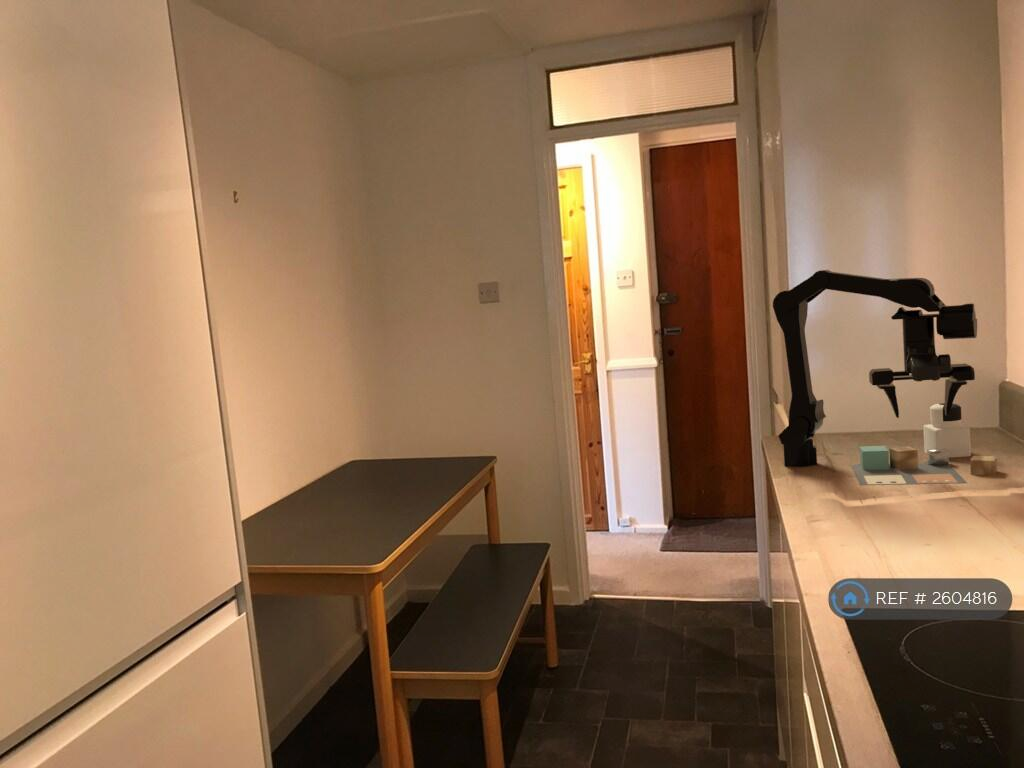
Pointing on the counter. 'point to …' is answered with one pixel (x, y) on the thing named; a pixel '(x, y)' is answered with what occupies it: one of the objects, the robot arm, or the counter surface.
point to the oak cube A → (903, 458)
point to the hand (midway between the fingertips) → (921, 416)
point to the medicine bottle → (947, 431)
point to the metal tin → (938, 456)
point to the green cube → (874, 458)
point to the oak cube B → (983, 465)
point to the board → (908, 475)
